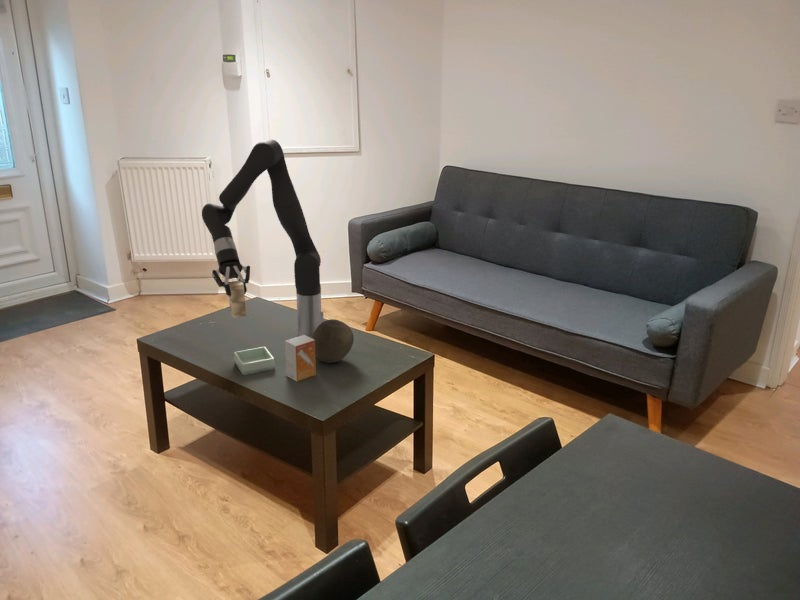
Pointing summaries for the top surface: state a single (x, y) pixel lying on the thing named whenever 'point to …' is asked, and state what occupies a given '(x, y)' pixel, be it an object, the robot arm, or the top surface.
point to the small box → (300, 357)
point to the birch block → (237, 299)
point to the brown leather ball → (332, 340)
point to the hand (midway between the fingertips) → (237, 294)
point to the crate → (254, 360)
